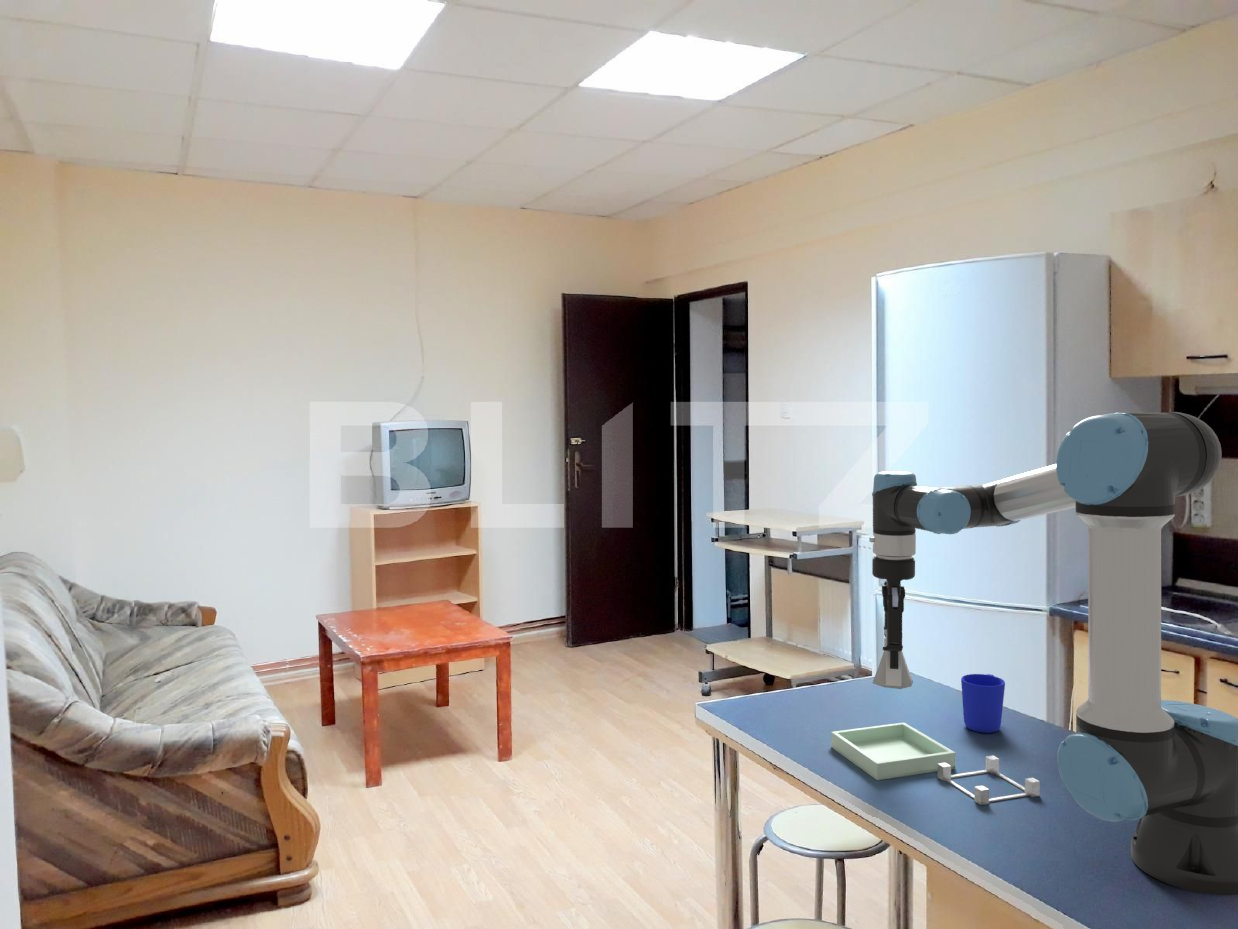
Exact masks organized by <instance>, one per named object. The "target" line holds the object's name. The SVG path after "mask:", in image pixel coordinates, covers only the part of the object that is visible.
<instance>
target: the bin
mask: <svg viewBox="0 0 1238 929" xmlns="http://www.w3.org/2000/svg"><path fill="white" fill-rule="evenodd" d="M830 736H831V737H830V738H831V741H830V743H831V744H830V747H831V748H832V749H833V750H834V751H836V752H837V753H838V754H840V755H841V756H843V757H844V758H845V759H847V760H849V761H850V762H851V763H852V764H854V765H855V766H856V767H858V768H860V769H861V770H862V771H864V772H865V773H866V774H867V775H869V776H870V777H872V778H873V779H874V780H876V781H881V780H888V779H896V778H902V777H903V778H904V777H908V776H916V775H923V774H929V773H936V772H937V768H938V763H947V764H949V765H950V766H951V770H955V769H956V751H954V750H952V749H950V748H949V747H946V746H945V745H944V744H942V743H940V742H938V741H936V740H935V739H933V738H932V737H930V736H928V735H926V734H925V733H923V732H921V731H920V730H919V729H916V728H915V727H912V726H911V725H909V724H908V723H906V722H896V723H889V724H881V725H874V726H868V727H858V728H851V729H843V730H836V731H834V730H833V731H831V735H830Z"/></svg>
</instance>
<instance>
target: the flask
mask: <svg viewBox="0 0 1238 929" xmlns="http://www.w3.org/2000/svg"><path fill="white" fill-rule="evenodd" d="M884 634H885V635H886V637H885V638H886V643H885V647H886V646H887V629H886V630H885V631H884V630H883V635H884ZM885 635H884V636H885ZM897 644H898V643H897ZM909 669H910V668H908V664H907V661H906V659H905V656H904V652H903V651H902V678H901V686H890V685H886V651H884V650H883V653H882V656H881V658H880V660H879V664H878V667H877V670H876V672H875V674H874V678H873V680H872V684H874V685H876V686H880V687H882V688H887V689H895V690H896V689H897V690H902V689H907V688H911V687H912V685H913V683H914V681H913V679H912V678H913V677H912V675H911V672H910V670H909Z"/></svg>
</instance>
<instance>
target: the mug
mask: <svg viewBox="0 0 1238 929" xmlns="http://www.w3.org/2000/svg"><path fill="white" fill-rule="evenodd" d="M960 682H961V684H960V685H961V696H962V712H963V714H962V715H963V722H964V725H965V727H967V729H969V730H972V731H974V732H978V733H983V734H984V733H985V734H987V733H988V734H990V733H991V734H992V733H996V732H998V731H999V730H1000V728H1001V725H1002V719H1003V718H1002V716H1003V707H1004V700H1005V698H1004V697H1005V690H1006V689H1005V688H1006V681H1005V680H1004V679H1003V678H1001V677H998V676H996V675H995V676H994V674H989V673H987V674H986V673H985V674H983V673H970V674H966V675H965V674H964V675H963V676H961V679H960Z"/></svg>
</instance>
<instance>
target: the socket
mask: <svg viewBox="0 0 1238 929" xmlns="http://www.w3.org/2000/svg"><path fill="white" fill-rule="evenodd" d="M984 767H985V769H982V770H975V771H970V772H962V773H956V774H952V769H951V766H950V765H949V764H947V763H938V768H937V778H938V779H939V780H941V781H942V782H947V783H948V784H950V785H952V787H955V788H956V789H958V790H959V791H961V792H962V793H964V794H966V795H967V796H969V797H970V798H971V799H973V800H974V802H975V803H976V804H978V805H979V806H985V805H989V804H990V803H993V802H1000V801H1006V800H1012V799H1018V798H1025V797H1031V798H1034V797H1035V798H1036V797H1039V796H1040V788H1041V787H1040V786H1041V783H1040V780H1038V779H1036V778H1034V777H1027V778H1024V786H1023V785H1021V784H1020V783H1018V782H1016V781H1015V780H1013V779H1011V778H1009V777H1007V776H1006V775H1004V774H1002V773H1001V772H1000V758H998V757H997V756H995V755H989V756H988V755H987V756H985V766H984ZM989 773H990V774H992V775H993V774H994V775H996V776H997V777H999V778H1001V779H1003V780H1004V781H1006V782H1008V783H1010V784H1012V785H1013V786H1015V787H1016V788H1019V790H1022V791H1023V793H1017V794H1016V793H1015V794H1011V795H1010V794H1009V795H1004V796H999V797H998V796H997V797H991V798H990V789H989V788H987V786H984V785H976V786H974V791H973V792H974V794H973V793H972V792H970V791H969V790H968V789H966V788H964V787H962V786H961V785H959V784H958V783H956V782H955V781H953V780H952V779H955V778H956V779H957V778H961V777H962V778H963V777H968V776H974V775H975V776H977V775H982V774H989Z"/></svg>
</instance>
